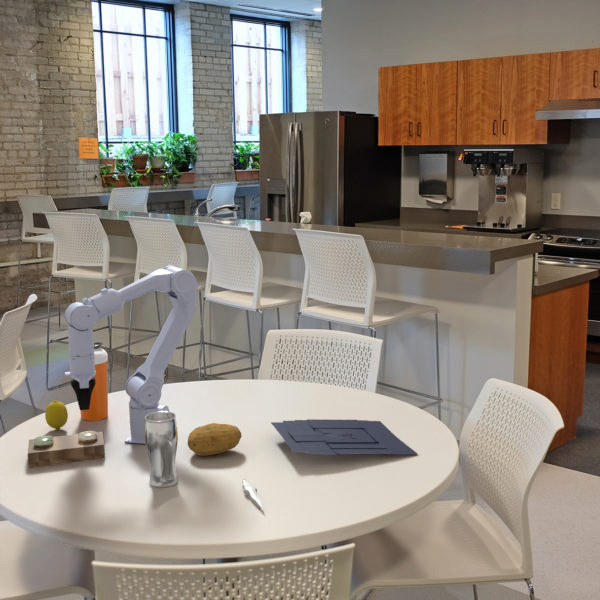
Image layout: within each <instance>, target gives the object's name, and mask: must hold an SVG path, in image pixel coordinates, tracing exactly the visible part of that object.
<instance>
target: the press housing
mask: <svg viewBox="0 0 600 600" xmlns="http://www.w3.org/2000/svg"><path fill="white" fill-rule="evenodd" d="M96 432H97V437H98V439H97V440H96V441H94V442H91V443H81V442H79V441H78V434H79V433H78V434H68V435H60V436H59V435H58V436H52V437H53V439H54V444H53V445H52V446H50V447H47V448H36V447H34V439H35V438H33V439H28V446H27V461H28V462H27V463H28V468H29V469H31V468H39V467H40V468H41V467H47V466H55V465H56V466H57V465H64V464H72V463H80V462H89V461H90V462H91V461H97V460H105V459H106V453H105V443H104V440H105V439H104V435H103V431H96Z"/></svg>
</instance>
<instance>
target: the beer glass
mask: <svg viewBox="0 0 600 600" xmlns="http://www.w3.org/2000/svg"><path fill="white" fill-rule="evenodd" d="M178 434H179V433H178V424H177V417H176V413H174V412H172V411H169V412H167V411H160V412H153V413H150V414H148V415H146V416H145V443H146V444H145V446H146V447H145V448H146V452H147V455H148V460H149V463H150V464H149V466H150V474H149V481H148V482H149V485H150V486H152V487H154V488H169V487H172V486H174V485H176V484H177V483H178V481H179V480H178V474H177V470H176V457H177V451H178V450H177V449H178V441H179V440H178V439H179V435H178Z"/></svg>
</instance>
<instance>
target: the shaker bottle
mask: <svg viewBox="0 0 600 600" xmlns="http://www.w3.org/2000/svg"><path fill="white" fill-rule="evenodd" d="M102 345H104V343H103V342H96V341H95V342H94V360H95V370H96V375H95V376H94V377H95V382H96V384H95V386H94V388H93V391H92V395H91V401H90V407H89V410H80V409H79V411H80V418H81V420H82V421H85V420H86V422H97V421H102V420H104V419H106V418H108V416H109V399H108V398H109V397H108V392H109V391H108V390H109V389H108V388H109V387H108V385H109V384H108V383H109V382H108V381H109V380H108V361H109V358H108V357H109V356H108V352H107V351H106V350H105V349H103V348H102Z"/></svg>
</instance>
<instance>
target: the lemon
mask: <svg viewBox="0 0 600 600" xmlns="http://www.w3.org/2000/svg"><path fill="white" fill-rule="evenodd" d="M68 415H69V414H68V409H67V407H66V405H65V404H64V403H63V402H62V401H58V400H57V399H56V400H55V399H54V400H53V401H51V402H50V403H48V405H47V406H46V408H45V412H44V416H45V422H46V424H47V425H48V426H49V427H50V428H53V429H55V430H56V431H59V430H60V429H61V428H63V427H64V426H65V425H66V424H67V422H68V417H69V416H68Z"/></svg>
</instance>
